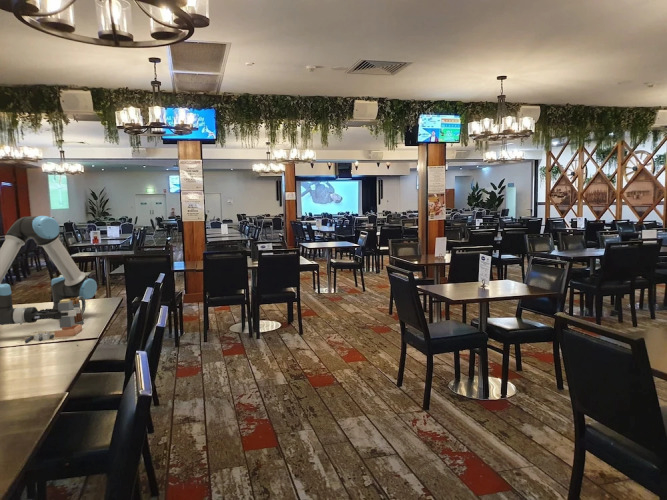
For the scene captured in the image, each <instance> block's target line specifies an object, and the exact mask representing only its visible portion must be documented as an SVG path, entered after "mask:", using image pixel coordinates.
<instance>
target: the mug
mask: <svg viewBox="0 0 667 500" xmlns="http://www.w3.org/2000/svg"><path fill="white" fill-rule="evenodd" d="M67 299H69V298H67ZM63 300H64V299H63ZM70 301H73V308H80V313H76V316H74V320H75V325H79V324H82V325H84V323H85V318H83V315H84V314H85V310H86V308H87V307H86V306H87V305H86V303H87V302H86V299H84V297H77V298H70ZM80 301H81V302H80Z"/></svg>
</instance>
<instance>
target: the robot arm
mask: <svg viewBox="0 0 667 500" xmlns="http://www.w3.org/2000/svg"><path fill="white" fill-rule="evenodd" d="M60 236H61V235H60V225H59V222H58V221H57V220H56V219H55V218H53V217H51V216H47V215H38V216H36V215H35V216H34V215H33V216H23V217H21V218H18V219H17V220H16V221H15V222H14V223H13V224H12V225H11V226H10V227H9V229H8V230H7V232H6V234H5V235H4V238H5V239H4V241H3V244H2V245H1V247H0V326H4V325H17V324H19V325H23V324H26V323H27V324H31V323H36V322H37V321H40V320H52V319H53V320H59V319H61V317H68V316H76V313H80V308H81V307H80V308H73V310H71V311H61V313H60V312H58V303H60V301H61V300H63V299H67V298H69V299H70V298H77V297H84V299H85V300H90V299H91V298H93V297H94V296H95V295H96V293H97V289H98V285H97V282H96V280H95V279H94V278H89V277H88V276H87V274H86V273H85V272H84V271H81V269H79V267H78V266H77V264H76V263H75V261H74V259H73V258H72V257H71V255H70V253H69V252H68V250H67V248H66V247H65V246H64V244H63V242H61V239H60ZM31 239H32V240H34V242H35V244H36V245H37V246H38V247H42V248H43V249H44V251H45V252H46V254H47V255H48V256H49V258H50V260H51V261H52V263H53V264H54V265H55V267H56V268H57V270H58V271H59V273H61V275H62V276H60V277H55V278H52V279H51V282H50V283H51V294H52V301H53V302H52V303H53V305H52V308H45V309H43V308H42V309H40V310H38V309H37V307H35V306H30V307H15V308H14V306H13V294H12V292H13V291H12V289H11V285H10V284H8V283H2V282H3V279H4V278H5V276H6V275H7V273H8V270H9V269H10V268H11V265H12V264H13V262H14V260H15V258H16V257H17V254H18V253H19V251H20V249H21V247H22V246H25V244H26V243H27V242H28V240H31Z"/></svg>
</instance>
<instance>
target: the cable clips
mask: <svg viewBox="0 0 667 500" xmlns="http://www.w3.org/2000/svg"><path fill="white" fill-rule="evenodd" d="M50 336H51V332H48V333H45V334H44V335H43V333H38V334H37V335H35V336H34V337H35V341H34V342H40V341H39V338H41V337H43V340H44V341H49V340H48V338H49V337H50Z"/></svg>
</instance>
